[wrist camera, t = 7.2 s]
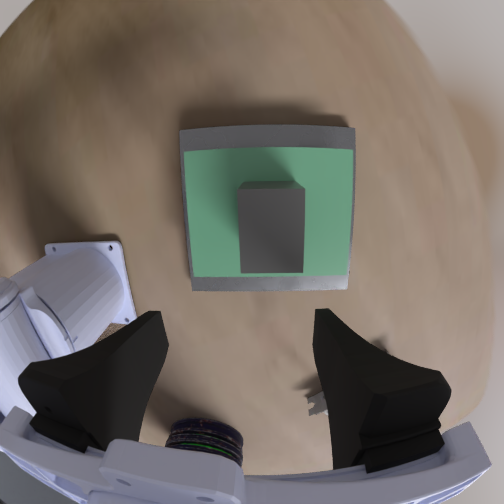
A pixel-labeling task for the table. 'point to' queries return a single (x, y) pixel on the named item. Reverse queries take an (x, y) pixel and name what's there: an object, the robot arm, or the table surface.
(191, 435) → the dark ridged cylinder
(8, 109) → the table surface
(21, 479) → the flask
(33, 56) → the table surface
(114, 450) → the robot arm
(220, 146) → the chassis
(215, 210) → the board
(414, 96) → the table surface
